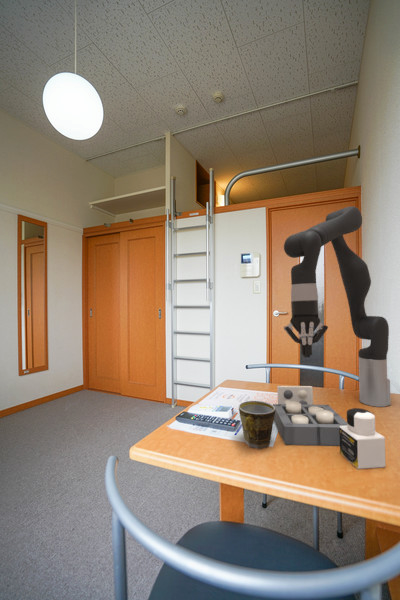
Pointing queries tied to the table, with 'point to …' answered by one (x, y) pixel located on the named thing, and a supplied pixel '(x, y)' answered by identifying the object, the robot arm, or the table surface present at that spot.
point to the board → (308, 427)
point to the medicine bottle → (362, 440)
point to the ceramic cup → (257, 423)
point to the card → (295, 394)
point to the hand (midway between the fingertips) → (306, 356)
